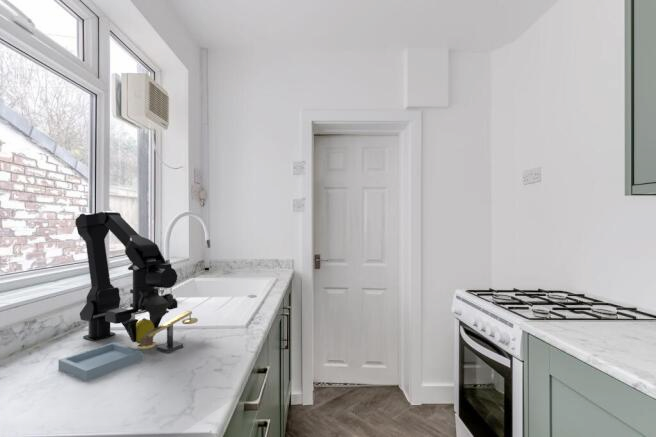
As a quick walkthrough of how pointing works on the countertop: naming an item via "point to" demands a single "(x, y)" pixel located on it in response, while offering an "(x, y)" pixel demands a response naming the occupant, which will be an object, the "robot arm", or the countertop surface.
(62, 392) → the countertop surface
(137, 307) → the robot arm
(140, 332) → the lemon
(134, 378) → the countertop surface
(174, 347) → the balance
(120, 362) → the dish
